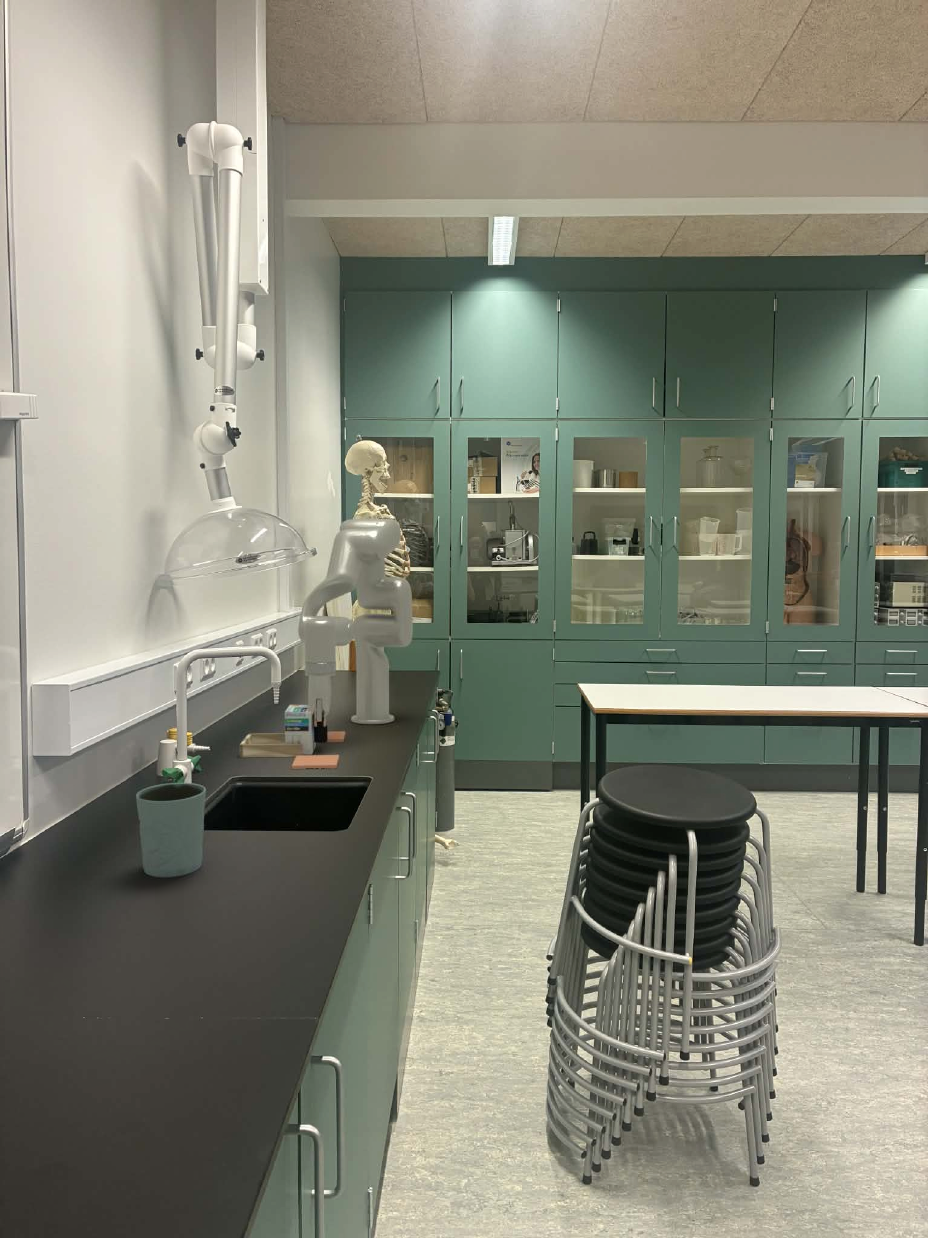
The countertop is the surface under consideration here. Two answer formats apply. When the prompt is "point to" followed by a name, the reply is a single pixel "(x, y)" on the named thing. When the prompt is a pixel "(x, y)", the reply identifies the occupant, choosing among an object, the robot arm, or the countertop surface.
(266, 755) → the wooden tray
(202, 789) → the teal cup
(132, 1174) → the countertop surface
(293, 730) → the light bulb box
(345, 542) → the robot arm
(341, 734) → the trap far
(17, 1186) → the countertop surface
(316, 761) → the plate
